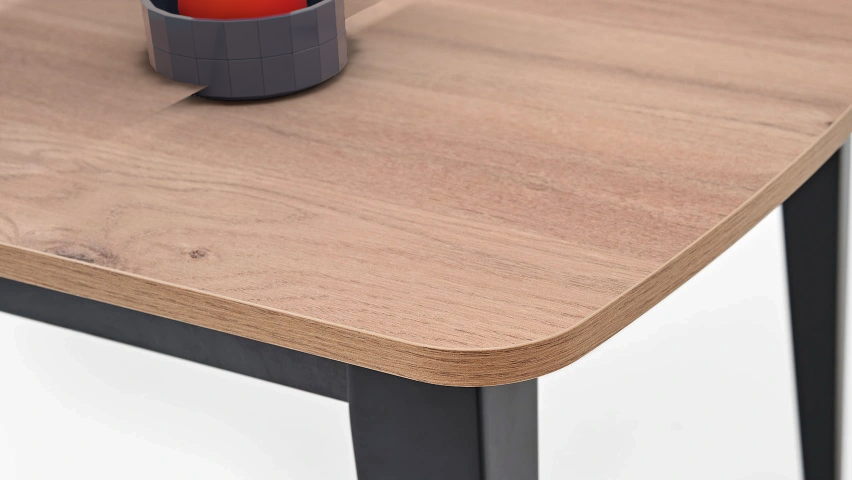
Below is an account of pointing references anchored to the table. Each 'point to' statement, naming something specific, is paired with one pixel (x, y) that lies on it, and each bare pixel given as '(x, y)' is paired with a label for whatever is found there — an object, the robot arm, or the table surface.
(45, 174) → the table surface
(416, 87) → the table surface
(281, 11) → the tomato
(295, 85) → the faceted grey ring
